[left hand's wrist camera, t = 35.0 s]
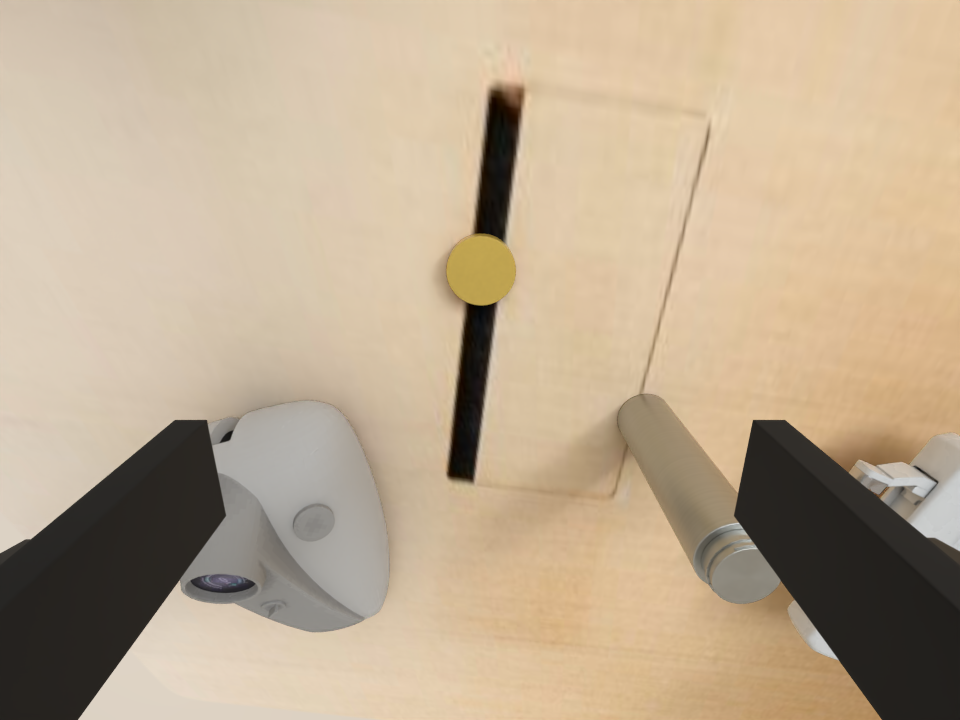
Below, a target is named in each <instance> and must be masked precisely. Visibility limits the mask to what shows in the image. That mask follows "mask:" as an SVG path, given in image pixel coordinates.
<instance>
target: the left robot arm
mask: <svg viewBox="0 0 960 720" xmlns="http://www.w3.org/2000/svg"><path fill="white" fill-rule="evenodd" d="M225 517H226V512H225V507H224V502H223V497H222V492H221V487H220V482H219V477H218V472H217V467H216V462H215V458H214V453H213V448H212V443H211V438H210V433H209V428H208V423H207V420H175V421H173V422H172V423H171V424H170V425H169V426H167V427H166V428H165V429H164V430H162V431H161V432H160V433H159V434H158V435H156V436H155V437H154V438H153V439H152V440H150V441H149V442H148V443H147V444H146V445H144V446H143V447H142V448H141V449H140V450H138V451H137V452H136V453H135V454H134V455H132V456H131V457H130V458H129V459H128V460H126V461H125V462H124V463H123V464H121V465H120V466H119V467H118V468H117V469H115V470H114V471H113V472H112V473H111V474H109V475H108V476H107V477H106V478H105V479H103V480H102V481H101V482H100V483H99V484H97V485H96V486H95V487H94V488H93V489H91V490H90V491H89V492H88V493H86V494H85V495H84V496H83V497H82V498H80V499H79V500H78V501H77V502H76V503H74V504H73V505H72V506H71V507H70V508H68V509H67V510H66V511H65V512H64V513H62V514H61V515H60V516H59V517H58V518H56V519H55V520H54V521H53V522H52V523H50V524H49V525H48V526H47V527H45V528H44V529H43V530H42V531H41V532H39V533H38V534H37V535H36V536H35V537H33V538H32V539H26V540H24V541H22V542H20V543H18V544H17V545H15V546H13V547H11V548H9V549H8V550H6V551H4V552H2V553H0V720H78V719H79V717H80V716H81V715H82V713H83V712H84V711H85V709H86V708H87V706H88V705H89V704H90V702H91V701H92V700H93V698H94V697H95V695H96V694H97V693H98V691H99V690H100V688H101V687H102V686H103V684H104V683H105V682H106V680H107V679H108V678H109V676H110V675H111V673H112V672H113V671H114V669H115V668H116V667H117V665H118V664H119V662H120V661H121V660H122V658H123V657H124V656H125V654H126V653H127V651H128V650H129V649H130V647H131V646H132V645H133V643H134V642H135V641H136V639H137V638H138V636H139V635H140V634H141V632H142V631H143V630H144V628H145V627H146V625H147V624H148V623H149V621H150V620H151V619H152V617H153V616H154V614H155V613H156V612H157V610H158V609H159V608H160V606H161V605H162V603H163V602H164V601H165V599H166V598H167V597H168V595H169V594H170V592H171V591H172V590H173V588H174V587H175V586H176V584H177V583H178V581H179V580H180V579H181V577H182V576H183V575H184V573H185V572H186V570H187V569H188V568H189V566H190V565H191V564H192V562H193V561H194V559H195V558H196V557H197V555H198V554H199V553H200V551H201V550H202V548H203V547H204V546H205V544H206V543H207V542H208V540H209V539H210V537H211V536H212V535H213V533H214V532H215V531H216V529H217V528H218V526H219V525H220V524H221V522H222V521H223V520H224V518H225ZM734 517H735V518H736V520H737V521H738V522H739V524H740V525H741V527H742V528H743V529H744V531H745V532H746V533H747V535H748V536H749V537H750V539H751V540H752V542H753V543H754V544H755V546H756V547H757V548H758V550H759V551H760V553H761V554H762V555H763V557H764V558H765V559H766V561H767V562H768V564H769V565H770V566H771V568H772V569H773V570H774V572H775V573H776V575H777V576H778V577H779V579H780V580H781V581H782V583H783V584H784V586H785V587H786V588H787V590H788V591H789V592H790V594H791V595H792V597H793V598H794V599H795V601H796V602H797V603H798V605H799V606H800V608H801V609H802V610H803V612H804V613H805V614H806V616H807V617H808V619H809V620H810V621H811V623H812V624H813V625H814V627H815V628H816V630H817V631H818V632H819V634H820V635H821V636H822V638H823V639H824V641H825V642H826V643H827V645H828V646H829V647H830V649H831V650H832V652H833V653H834V654H835V656H836V657H837V658H838V660H839V661H840V663H841V664H842V665H843V667H844V668H845V669H846V671H847V672H848V673H849V675H850V676H851V678H852V679H853V680H854V682H855V683H856V684H857V686H858V687H859V689H860V690H861V691H862V693H863V694H864V695H865V697H866V698H867V700H868V701H869V702H870V704H871V705H872V706H873V708H874V709H875V711H876V712H877V713H878V715H879V716H880V717H881V719H882V720H960V551H958V550H957V549H955V548H953V547H951V546H949V545H948V544H946V543H944V542H942V541H940V540H938V539H937V538H927V537H925V536H924V535H923V534H922V533H921V532H919V531H918V530H917V529H916V528H915V527H913V526H912V525H911V524H910V523H908V522H907V521H906V520H905V519H904V518H902V517H901V516H900V515H899V514H898V513H896V512H895V511H894V510H893V509H892V508H890V507H889V506H888V505H887V504H886V503H884V502H883V501H882V500H881V499H880V498H878V497H877V496H876V495H875V494H874V493H872V492H871V491H870V490H869V489H867V488H866V487H865V486H864V485H863V484H861V483H860V482H859V481H858V480H857V479H855V478H854V477H853V476H852V475H851V474H849V473H848V472H847V471H846V470H845V469H843V468H842V467H841V466H840V465H839V464H837V463H836V462H835V461H834V460H832V459H831V458H830V457H829V456H828V455H826V454H825V453H824V452H823V451H822V450H820V449H819V448H818V447H817V446H816V445H814V444H813V443H812V442H811V441H810V440H808V439H807V438H806V437H805V436H804V435H802V434H801V433H800V432H799V431H798V430H796V429H795V428H794V427H793V426H791V425H790V424H789V423H788V422H787V421H785V420H753V423H752V428H751V433H750V438H749V443H748V448H747V453H746V458H745V462H744V467H743V472H742V477H741V482H740V487H739V492H738V497H737V502H736V507H735V512H734Z"/></svg>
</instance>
